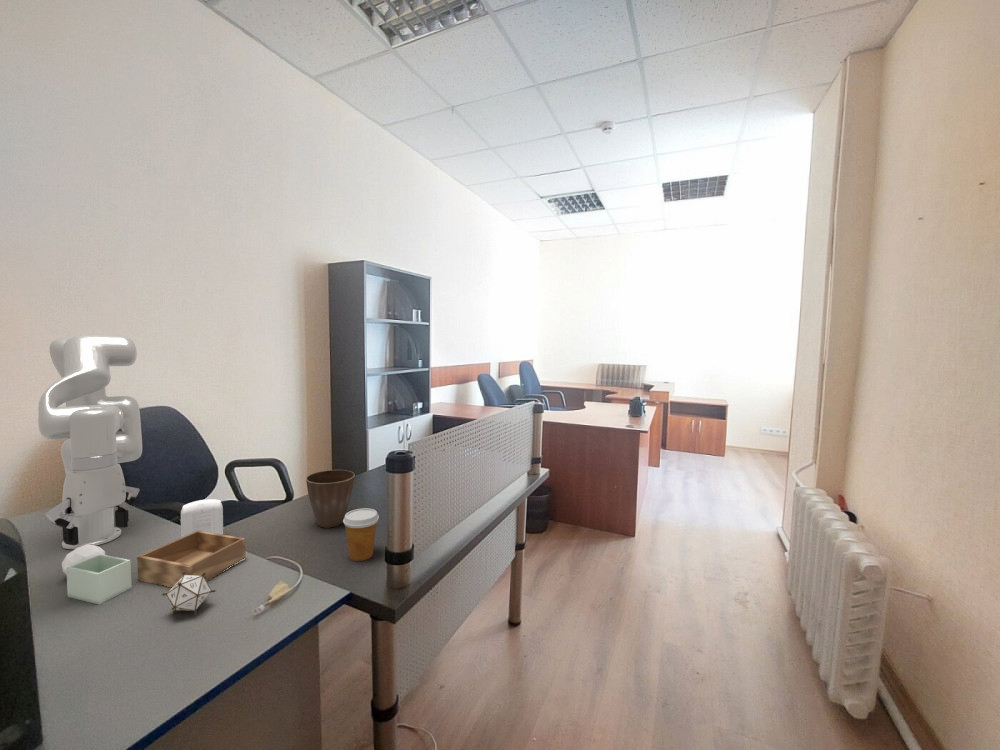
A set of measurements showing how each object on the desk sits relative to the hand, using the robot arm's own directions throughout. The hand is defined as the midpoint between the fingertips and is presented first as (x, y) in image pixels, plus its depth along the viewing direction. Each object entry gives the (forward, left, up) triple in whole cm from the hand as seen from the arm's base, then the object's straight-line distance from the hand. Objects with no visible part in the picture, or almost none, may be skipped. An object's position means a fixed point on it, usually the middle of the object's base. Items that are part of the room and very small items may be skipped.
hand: (97, 535), depth 96 cm
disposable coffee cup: (+48, +33, -14) cm, 60 cm away
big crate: (+11, +14, -14) cm, 23 cm away
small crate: (0, 0, -14) cm, 14 cm away
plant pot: (+26, +49, -14) cm, 57 cm away
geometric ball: (-12, +4, -14) cm, 19 cm away
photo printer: (-2, +27, -14) cm, 31 cm away
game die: (+26, +1, -14) cm, 29 cm away
